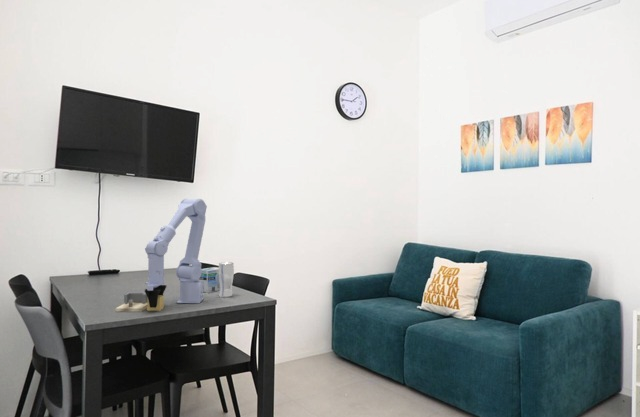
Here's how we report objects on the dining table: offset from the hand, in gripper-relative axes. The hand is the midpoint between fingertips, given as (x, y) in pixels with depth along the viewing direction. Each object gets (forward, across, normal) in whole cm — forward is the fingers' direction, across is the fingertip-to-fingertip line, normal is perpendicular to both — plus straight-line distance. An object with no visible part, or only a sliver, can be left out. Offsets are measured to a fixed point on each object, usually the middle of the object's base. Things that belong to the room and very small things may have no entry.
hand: (155, 305), depth 173 cm
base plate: (+1, -2, -9) cm, 9 cm away
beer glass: (+2, -26, +24) cm, 35 cm away
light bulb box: (+2, -39, +14) cm, 42 cm away
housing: (0, -6, -10) cm, 11 cm away
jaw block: (+1, 0, 0) cm, 1 cm away
